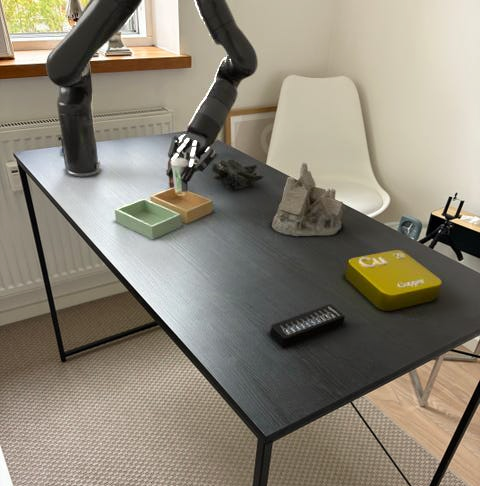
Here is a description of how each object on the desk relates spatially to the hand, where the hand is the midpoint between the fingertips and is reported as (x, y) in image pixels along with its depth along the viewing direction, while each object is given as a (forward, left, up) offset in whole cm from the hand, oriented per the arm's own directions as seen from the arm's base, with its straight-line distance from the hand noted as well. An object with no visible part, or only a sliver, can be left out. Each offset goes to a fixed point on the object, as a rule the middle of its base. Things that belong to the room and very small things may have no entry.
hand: (176, 179), depth 123 cm
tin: (-14, +14, -9) cm, 22 cm away
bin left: (0, -10, -9) cm, 13 cm away
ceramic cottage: (+29, +18, -9) cm, 35 cm away
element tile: (+58, +6, -9) cm, 59 cm away
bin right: (0, +2, -9) cm, 9 cm away
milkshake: (0, +2, -4) cm, 5 cm away
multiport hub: (+53, -19, -9) cm, 57 cm away
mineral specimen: (0, +25, -9) cm, 27 cm away
